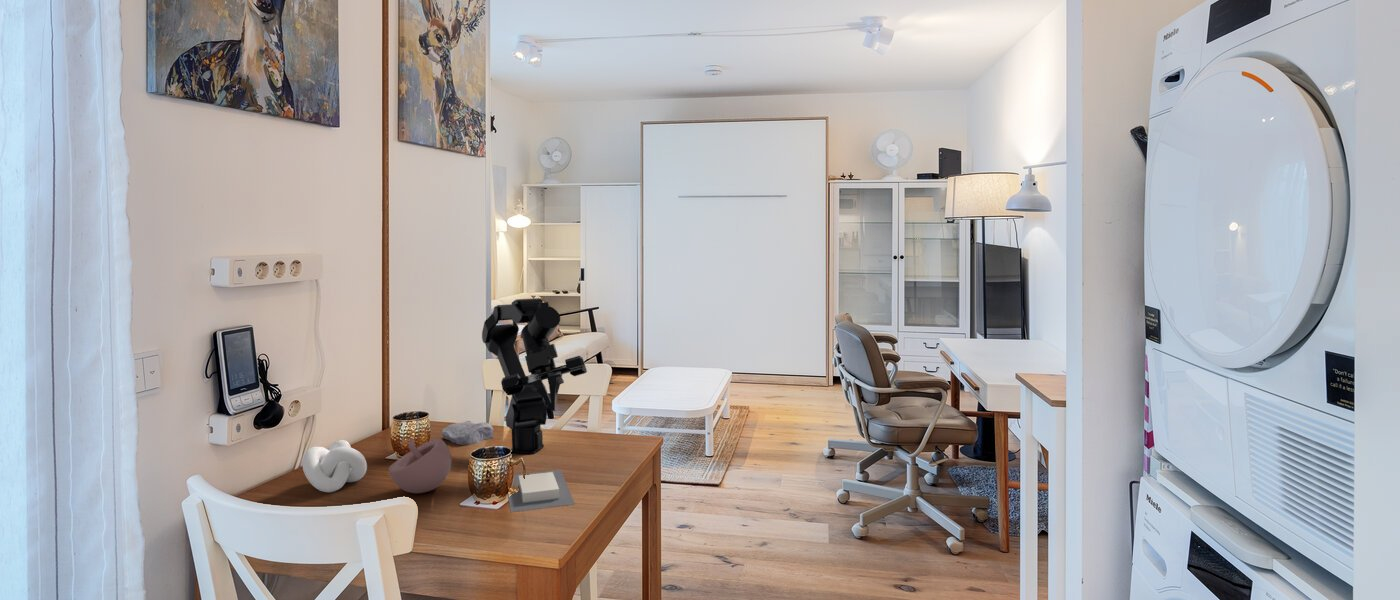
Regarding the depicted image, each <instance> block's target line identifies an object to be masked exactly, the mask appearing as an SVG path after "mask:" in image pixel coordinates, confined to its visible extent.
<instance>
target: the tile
mask: <svg viewBox="0 0 1400 600" xmlns="http://www.w3.org/2000/svg"><path fill="white" fill-rule="evenodd" d="M519 488H520V493H521V497H522V502H523V503H530V502H538V501H546V500H554V499H559V487H558V485H557V482H556V479H555V477H554V474H553V472H548V473H539V474H530V475H525V479H524V478H523V475H521V476H519Z"/></svg>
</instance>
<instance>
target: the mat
mask: <svg viewBox="0 0 1400 600" xmlns="http://www.w3.org/2000/svg"><path fill="white" fill-rule="evenodd" d="M548 472H553V474H554V477H555V479H556V482H557V485H558V487H559V499H554V500H546V501H538V502H530V503H523V502H522V497H521V493H520V488H519V485H518V483H519V476H521V475H523V474H524V473H518V474H513V475H514V482H513V487H515V486H516V484H517V485H518V488H519V491H518V492H517V493H514V494H512V495H511V496H510V497H509V498H508V497H507V499H508V504H509V509H510V513H517V512H524V511H533V510H534V511H535V510H540V509H549V508H557V507H564V506H565V507H566V506H571V505H575V504H576V503H575V500H574V498H573V496H572V493H571V491H570V488H569V486H568V484H567V482H566V479H565V477H564V475H563V472H562V470H561V469H554V470H544V471H538V472H537V471H535V472H527V473H529V475H530V474H539V473H548ZM527 473H525V474H526V475H527Z"/></svg>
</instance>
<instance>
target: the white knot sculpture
mask: <svg viewBox="0 0 1400 600" xmlns="http://www.w3.org/2000/svg"><path fill="white" fill-rule="evenodd" d="M301 465H302V470H303V473H304V475H305V477H306V479H307V481H308V482H309V484H311V485H312V487H314V488H315V489H317V490H318V491H320V492H324V493H334V492H337V491H338V490H340V489H341V488H342V487H343V486H344V485H345V484H346V483H355V482H357V481H360V480H361V479H363V478H364V476H365V474H367V469H368V464H367V460H366V458H365V456H364V455H363V454H362V453H361V452H360V451H359V450H357V449H355V448H353V447H351V445H350V443H349V442H348V441H347V440H344V439H339V440H336V441H334V442H333V443H331V445H329V447H328V448H325V447H323V446H312V447H311V448H308V449H307V450H306V451H305V453H304V454H303V456H302V460H301Z"/></svg>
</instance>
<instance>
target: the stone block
mask: <svg viewBox="0 0 1400 600" xmlns="http://www.w3.org/2000/svg"><path fill="white" fill-rule="evenodd" d="M441 436H442V437H443V438H444V440H448V441H449V440H450V442H452V443H454V444H456V445H463V446H464V445H465V446H470V445H471V446H472V445H475V444H479V443H481V442H482V443H483V442H485V441H487V440H490V439H492V438H494V428H493V425H492V424H490V423H488V422H478V423H475V422H472V421H471V420H466V421H463V422H458V423H456V422H455V423H452V424H449V425H448V426H445V427H444V428H443V429H442V430H441Z"/></svg>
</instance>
